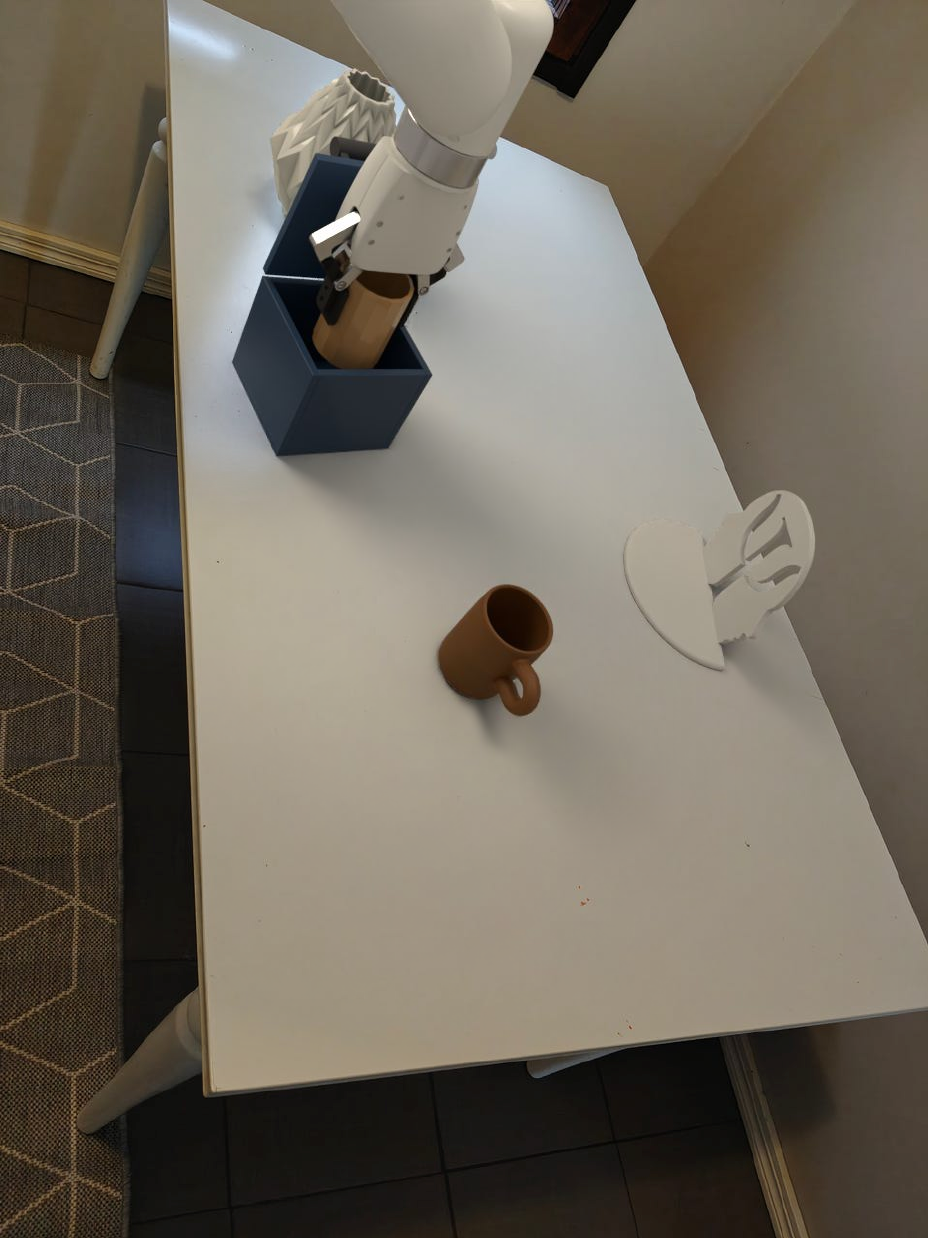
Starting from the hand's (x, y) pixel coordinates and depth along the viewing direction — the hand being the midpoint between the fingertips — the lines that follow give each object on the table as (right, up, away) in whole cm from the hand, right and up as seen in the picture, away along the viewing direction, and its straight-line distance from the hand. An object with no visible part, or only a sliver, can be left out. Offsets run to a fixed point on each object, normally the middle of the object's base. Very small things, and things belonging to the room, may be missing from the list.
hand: (360, 314), depth 82 cm
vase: (-9, +21, +27) cm, 35 cm away
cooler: (-6, -6, +10) cm, 13 cm away
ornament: (+35, -25, +23) cm, 49 cm away
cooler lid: (0, +7, -2) cm, 8 cm away
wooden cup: (-2, -2, +3) cm, 4 cm away
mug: (+11, -36, 0) cm, 37 cm away
